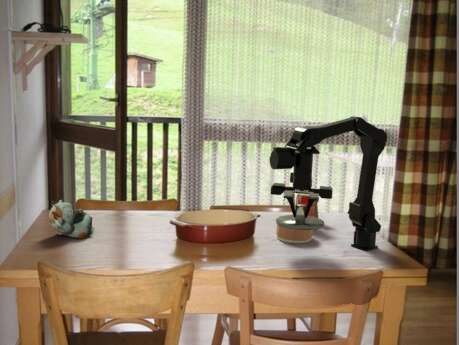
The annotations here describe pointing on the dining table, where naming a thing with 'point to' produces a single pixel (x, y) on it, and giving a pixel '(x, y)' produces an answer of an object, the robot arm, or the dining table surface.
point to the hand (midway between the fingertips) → (300, 217)
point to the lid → (300, 220)
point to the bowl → (293, 235)
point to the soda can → (305, 202)
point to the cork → (316, 209)
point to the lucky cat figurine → (70, 220)
